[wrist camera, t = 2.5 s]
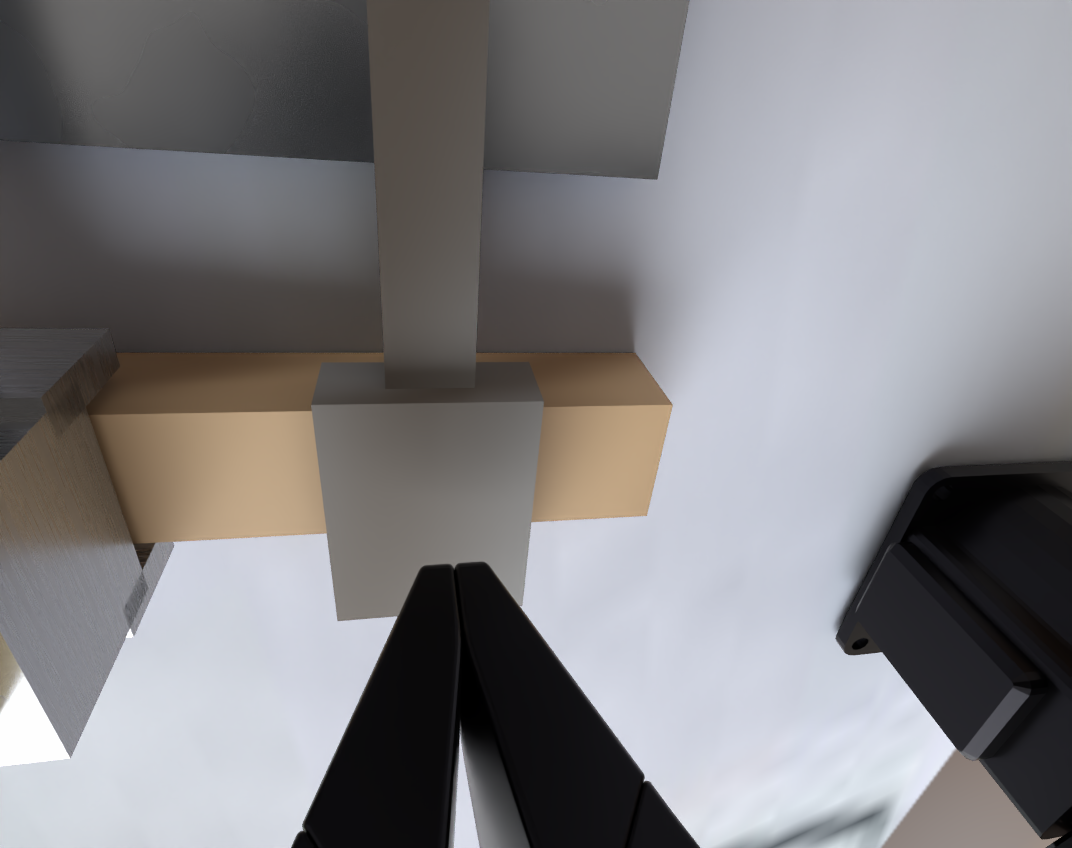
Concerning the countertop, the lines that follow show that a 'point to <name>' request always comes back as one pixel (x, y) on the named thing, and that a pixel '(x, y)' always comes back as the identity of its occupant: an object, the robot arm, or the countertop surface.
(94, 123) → the bolt plate
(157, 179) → the countertop surface
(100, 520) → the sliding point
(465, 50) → the beam
